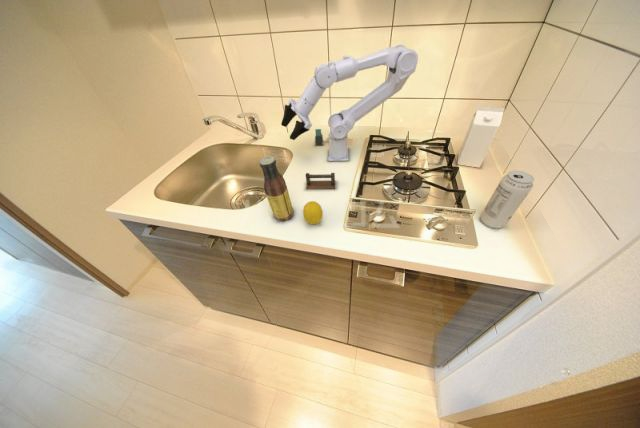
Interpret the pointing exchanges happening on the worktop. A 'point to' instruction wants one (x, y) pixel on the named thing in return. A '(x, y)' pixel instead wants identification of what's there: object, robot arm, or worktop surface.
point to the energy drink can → (507, 198)
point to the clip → (318, 137)
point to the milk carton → (480, 136)
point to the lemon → (312, 212)
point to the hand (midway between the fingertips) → (287, 132)
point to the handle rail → (320, 183)
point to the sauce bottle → (276, 189)
